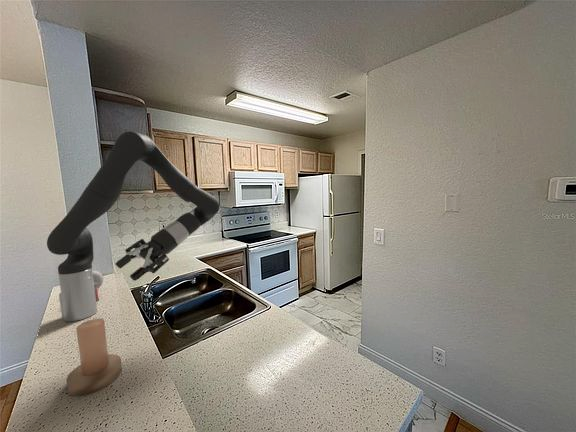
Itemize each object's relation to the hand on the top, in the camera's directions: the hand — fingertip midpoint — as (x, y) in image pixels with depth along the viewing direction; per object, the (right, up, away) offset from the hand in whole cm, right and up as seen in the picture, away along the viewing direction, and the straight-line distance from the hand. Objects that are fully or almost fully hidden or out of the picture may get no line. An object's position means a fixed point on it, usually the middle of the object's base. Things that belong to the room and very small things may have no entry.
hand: (124, 272), depth 69 cm
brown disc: (+2, -22, -13) cm, 26 cm away
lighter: (-36, -20, +32) cm, 53 cm away
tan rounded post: (+2, -20, -13) cm, 24 cm away
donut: (-45, -19, +42) cm, 65 cm away
